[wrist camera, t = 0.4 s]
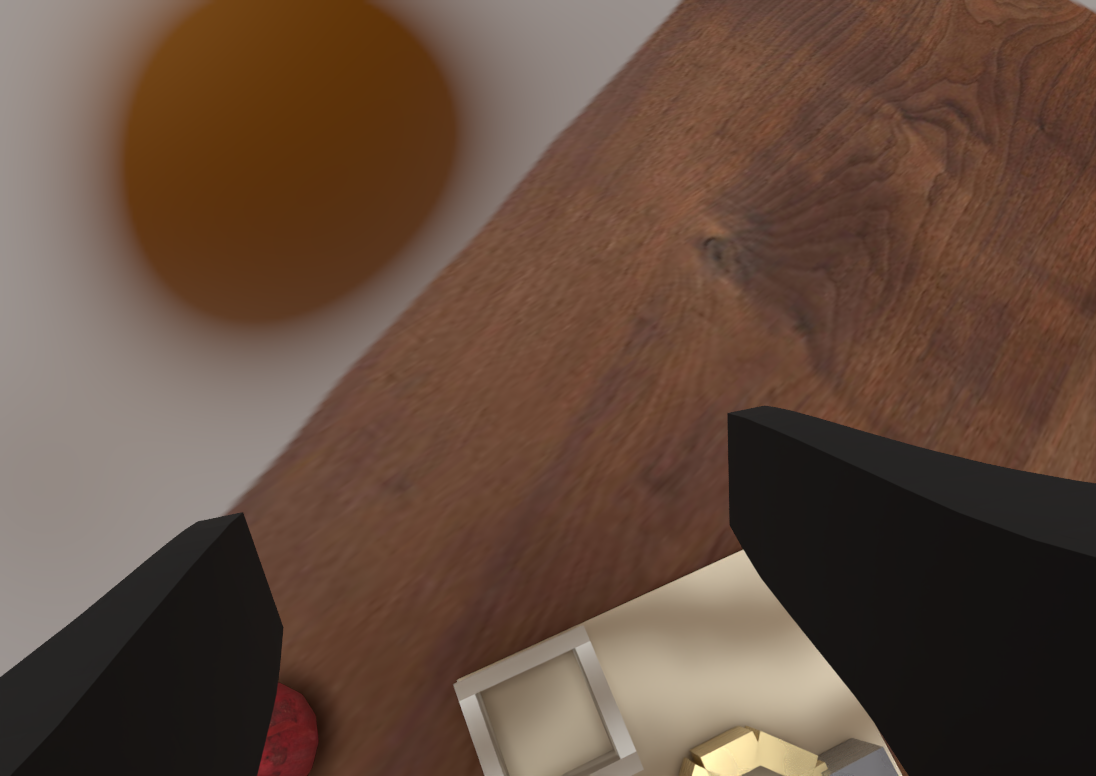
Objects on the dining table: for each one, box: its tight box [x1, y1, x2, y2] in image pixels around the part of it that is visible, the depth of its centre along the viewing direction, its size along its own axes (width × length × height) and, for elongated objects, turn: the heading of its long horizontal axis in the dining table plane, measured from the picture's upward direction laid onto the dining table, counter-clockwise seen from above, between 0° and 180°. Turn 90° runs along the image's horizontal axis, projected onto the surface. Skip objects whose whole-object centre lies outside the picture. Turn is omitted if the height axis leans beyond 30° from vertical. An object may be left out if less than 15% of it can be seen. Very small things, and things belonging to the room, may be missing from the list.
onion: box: [257, 682, 319, 776], centre depth 31 cm, size 6×6×8 cm
